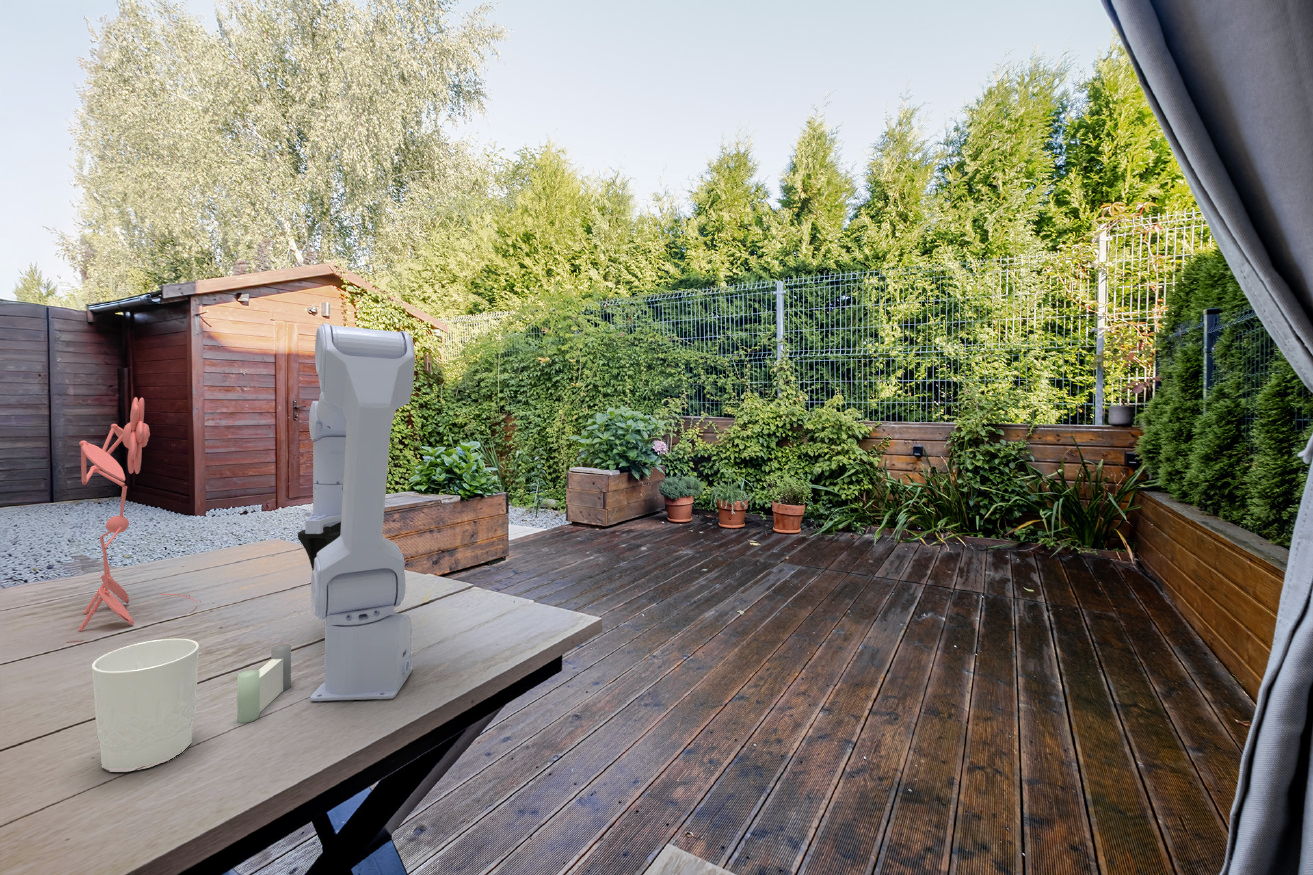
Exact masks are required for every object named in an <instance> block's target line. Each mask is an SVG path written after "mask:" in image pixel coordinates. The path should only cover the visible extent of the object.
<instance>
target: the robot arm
mask: <svg viewBox="0 0 1313 875" xmlns="http://www.w3.org/2000/svg"><path fill="white" fill-rule="evenodd" d="M314 342H315V344H314V345H315V347H314V361H315V371H316V374H317V376H318V384H319V389H320V393H319V398H318V400H313V401H311V405H310V408H309V414H308V428H309V429H308V430H309V435H310V436H309V437H310V439H311V442H312V441H313V442H312V444H313V445H312V446H313V447H312V448H313V450H312V451H313V453H312V454H313V455H312V459H313V460H312V461H313V462H312V465H313V466H312V467H313V469H312V471H313V472H312V473H313V474H312V477H313V478H312V486H313V487H312V494H313V495H312V509H308V510H306V511H304V517H309V518H308V519H306V520H305V522H304V523H305V526H304V527H305V529H302V530H300V531H298V532H297V539H298V541H299V543H301V544H302V546H303V548H304V550H305V552H306V554H307V557H308V559H309V562H310V563H309V564H310V565H311V570H312V572H311V577H310V578H311V582H310V594H311V595H310V599H311V600H310V601H311V610H312V614H313V616H315V617H316V618H317V619H318V620H324V682H322V683H321V685H320V686H318V688H317V689H316V690H315V691H314V692H313V693H312V694H311V695H310V697H309V700H310V701H311V702H317V701H318V702H320V701H321V702H325V701H354V700H356V701H357V700H358V701H359V700H386V699H387V700H388V699H390V700H391V699H395V697H396V696H397V695H398V693H399V692H400V690H401V688H402V687H403V685H404V684H405V682H406V680H407V679H408V677H409V676H410V675H411V673H412V671H413V669H414V668H413V666H412V630H413V629H412V620H411V619H412V618H411V616H410V615H409V614H404V613H398V612H395V608H397V607H400V605H401V604H402V602H403V601H404V599H405V596H406V573H405V566H406V565H405V564H406V562H405V558H404V554H403V552H402V551H401V549H400V547H399V546H398V545H397V543H395V542H393V541H392V540H390V539H388V538H387V537H385V536H384V535H383V534H384V533H383V530H384V520H385V508H386V507H385V506H386V494H387V483H388V481H387V480H388V467H389V458H390V457H389V456H390V455H389V454H390V444H391V443H390V442H391V432H392V427H393V422H394V418H395V414H396V411H397V410H398V409H400V408H402V407H404V406H406V405H407V404H410V402H411V396H412V393H413V388H414V377H415V366H416V364H415V363H416V354H415V344H414V340H413V338H412V337H411V335H410V334H409V332H407V331H406V330H401V331H395V330H393V331H392V330H385V329H372V328H365V327H364V328H362V327H361V328H360V327H353V326H352V327H351V326H345V325H344V326H343V325H334V324H333V325H332V324H331V325H330V323H325V322H323V323H322V324H321V325H320V326H319V327H317V330H316V333H315V340H314Z"/></svg>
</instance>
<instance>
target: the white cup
mask: <svg viewBox="0 0 1313 875" xmlns="http://www.w3.org/2000/svg"><path fill="white" fill-rule="evenodd" d="M199 650H200V645H199V643H198V642H197V641H196V640H193V639H188V638H163V639H155V640H154V639H153V640H149V641H144V642H138V643H134V644H130V645H126V646H124V647H120V648H118V649H114V650H112V651H110V652H107V653H105V654H103V655H101V656H100V657H98V658H96V659H95V660H94V661H93V662H92V664H91V675H92V687H93V688H92V690H93V702H94V713H95V723H96V731H97V739H98V740H99V742H100V743H99V748H100V762H101V763H100V764H103V766H107V767H108V768H135V767H140V766H148V765H150V764H153V763H158V762H160V761H163V760H167V759H169V758H171V757H173V756H174V755H176V754H178V753H181V751H184V750H185V749H186V748H187V747H188V746H189V745H190V744H191V743H193V725H194V717H195V714H196V705H197V704H196V701H197V690H198V676H199V674H198V671H199V652H200V651H199ZM191 745H192V744H191ZM191 745H190V746H191ZM190 746H189V747H190ZM189 747H188V748H189ZM188 748H187V749H188ZM187 749H186V750H187ZM186 750H185V751H186ZM185 751H184V752H185Z"/></svg>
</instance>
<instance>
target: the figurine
mask: <svg viewBox="0 0 1313 875" xmlns="http://www.w3.org/2000/svg"><path fill="white" fill-rule="evenodd" d="M144 417H145V399H144V397H140V398H139V399H138V397H136V396H135V397H134V398H133V400H132V403H131V409H130V416H129V418H130V421H129V422H127V424H126V425H124V427H123V428H122V427H120V426H118V424H116V423H112V424H110V429H109V432H108V435H107V437H106V439H105V442H104V444H103V446H102V448H100V447H99V446H97V445H95V444H92V443H90V442H88V441H86V440H80V441H79V442H78V443H79V446H80V463H81V464H80V469H81V470H80V472H81V473H80V474H81V485H83V486H85V485H87V484H88V482H89V480H90V479H91V477H92V476H93V475H94V473H95V474H97V473H98V474H99V475H101V476H103V477H104V478H106V479H108V480H109V481H112V482H113V483H115V484H117V485H118V486H120V487H122V488H121V489H122V490H121V498H120V499H121V500H120V509H119V515H115V516H114V515H113V516H112V517H111V518H108V520H107V522H106V523H105V528H106V529H107V532H105V533H103V534H102V535H100V536H99V540H100V541H99V542H100V545H101V549H102V555H103V556H102V558H103V572H104V573H103V574H102V575H101V576H100V579H101V581H102V584H101V586H100V587H99V588H98V589H97V591H96V593H95V595H94V596H93V597H92V599H91V600H90V602H89V603H88V605H87V606H86V608H85V609H84V610H83V612H82V613H83V614H86V615H87V616H86V617H85V619H84V620H83V622H82V623H81V624H80V626H79V627H78V629H77V630H78V631H80V632H83V631H84V629H85V628H86V627H87V625H88V623H89V622H90V620H91V619H92V617H93V616H94V614H95V613H96V612H97V610H98V608H99V606H100V605H101V603H103V602H104V603H105V605H107V606H108V608H109V609H111V611H112V612H114V613H115V614H116V615H117V616H118V617H120V618H121V619H122V620H124V621H125V622H127V623H128V624H130V625H131V626H133V625H135V622H134V619H133V618H132V616H131V615H130V613H129V611H128V610H127V609H126V607H125V606H124V604H123V603H122V602H120V600H122V601H123V602H124V603H125V604H126V605H128V604H129V603H130V598H129V595H128V593H127V592H126V590H125V589H124V588H123V587H122V586H121V585H120V584H119V583H118V582H117V581H116V580H114V577H113V576H111V571H110V565H109V561H108V560H109V559H108V555H107V552H108V550H107V548H108V547H109V545H110V544H111V543H112V542H113V541H114V539H115V538H116V537H117V536H118V534H120V533H123V532H125V531H126V530H127V529H128V527H129V526H130V521H129V519H128V518H126V517H125V516H124V512H125V511H124V510H125V505H126V504H125V503H126V498H127V497H126V496H127V489H128V486H127V485H126V483H125V481H126V476H125V473H124V470H123V467H122V466H121V465H120V463H119V462H118V461H117V460H116V459H115V458H114V457H113V456H112V455H111V454H112V453H113V452H114V451H115V449H116V448H117V447H118V446H119V444H121V442H122V443H123V446H124V447H125V448H127V449H128V452H127V469H128V473H129V474H130V475H131V474H133V473H134V472H135V474H136V475H138V474H139V473H140V471H141V466H142V452H143V450H142V448H145V447H146V446H148V442H149V438H150V436H151V433H150V427H149V424H147V423H145V422H144V419H145V418H144ZM114 434H115V435H116V436H117V440H116V441H114V444H112V445H111V447H110V448H109V449H108V446H109V444H110V442H111V440H112V437H113V435H114ZM107 449H108V450H107ZM87 459H88V460H89V461H90V462H91V463H92V464H93V465H92V466H90V468H89V471H88V473H87ZM111 533H113V535H112V536H111V538H110V539H109V540H107V542H106V544H105V540H104V537H106V536H108V535H109V534H111ZM113 594H114V595H115V596H114V595H113ZM161 595H165V596H176V595H177V596H178V597H184V598H188V599H191V600H193V601H195V602H197V600H195V599H194V598H192V597H191V596H190V595H189V594H187V595H188V596H187V595H185V594H182V595H181V594H176V593H175V594H174V593H160V596H161ZM119 599H120V600H119ZM199 601H200V603H202V602H201V600H199ZM197 607H198V606H196V607H195V608H194V609H193V610H191V611H190V612H189V614H191V613H193V612H194V611H196V609H197ZM78 642H80V643H81V642H84V640H83V639H81V640H73V641H66V644H69V643H78Z"/></svg>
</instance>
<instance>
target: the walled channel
mask: <svg viewBox="0 0 1313 875" xmlns="http://www.w3.org/2000/svg"><path fill="white" fill-rule="evenodd" d="M270 658H271V660H269V661H268V662H267V663H265V664H264V665H263V666H262V667H260V668H259V669H248V670H245V671H241V672H239V673H238V674H237V675H236V676H237V677H236V678H237V680H236V681H237V682H236V683H237V684H236V685H237V689H236V690H237V693H236V694H237V703H236V705H237V706H236V707H237V709H236V710H237V713H236V716H237V723H240V724H246V723H247V724H248V723H250V722H253V721H255V720H257V719H258V718H260V713H261V712H263V711H264V709H266V707H268V706H269V705H270V704H271V703H272V702H273V701H274V700H275V699H276V698H277V697H278V696H280V694H281V693H283V692H284V691H286V690H288V689H290V688H291V687H292V645H291V644H284V643H283V644H278V645H275V646H273V647H272V648H271V657H270Z"/></svg>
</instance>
